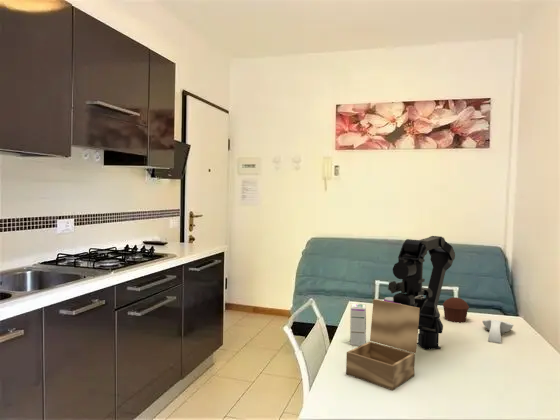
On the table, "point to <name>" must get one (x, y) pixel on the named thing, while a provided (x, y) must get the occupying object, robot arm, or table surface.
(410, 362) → the brown wooden box base
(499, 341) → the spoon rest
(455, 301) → the muffin
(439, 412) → the table surface
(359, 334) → the syrup box
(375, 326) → the lid
